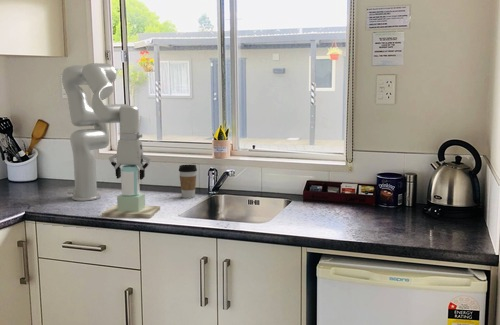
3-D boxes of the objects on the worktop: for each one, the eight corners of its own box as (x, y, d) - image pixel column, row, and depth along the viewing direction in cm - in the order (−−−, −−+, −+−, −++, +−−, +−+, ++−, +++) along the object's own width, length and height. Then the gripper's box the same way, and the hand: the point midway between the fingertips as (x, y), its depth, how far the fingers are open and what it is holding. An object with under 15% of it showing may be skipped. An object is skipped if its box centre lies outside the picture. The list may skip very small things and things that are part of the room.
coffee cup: (188, 199, 249) (188, 166, 247) (175, 197, 254) (174, 165, 252) (201, 196, 255) (200, 164, 253) (188, 194, 260) (187, 162, 258)
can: (118, 195, 223) (117, 165, 221) (133, 192, 228) (132, 164, 226) (128, 197, 218) (127, 167, 216) (143, 195, 223) (142, 165, 221)
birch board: (101, 216, 218) (101, 212, 218) (114, 208, 232) (114, 204, 232) (150, 218, 216) (150, 214, 216) (160, 209, 230) (160, 206, 230)
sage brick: (117, 210, 221) (117, 196, 221) (124, 206, 228) (124, 192, 227) (138, 211, 220) (138, 197, 219) (145, 207, 227) (144, 193, 226)
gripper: (153, 136, 223) (153, 177, 226) (112, 134, 225) (113, 175, 228) (147, 138, 216) (147, 181, 219) (105, 137, 218) (106, 179, 221)
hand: (130, 178), depth 223 cm, fingers open, 9 cm apart
